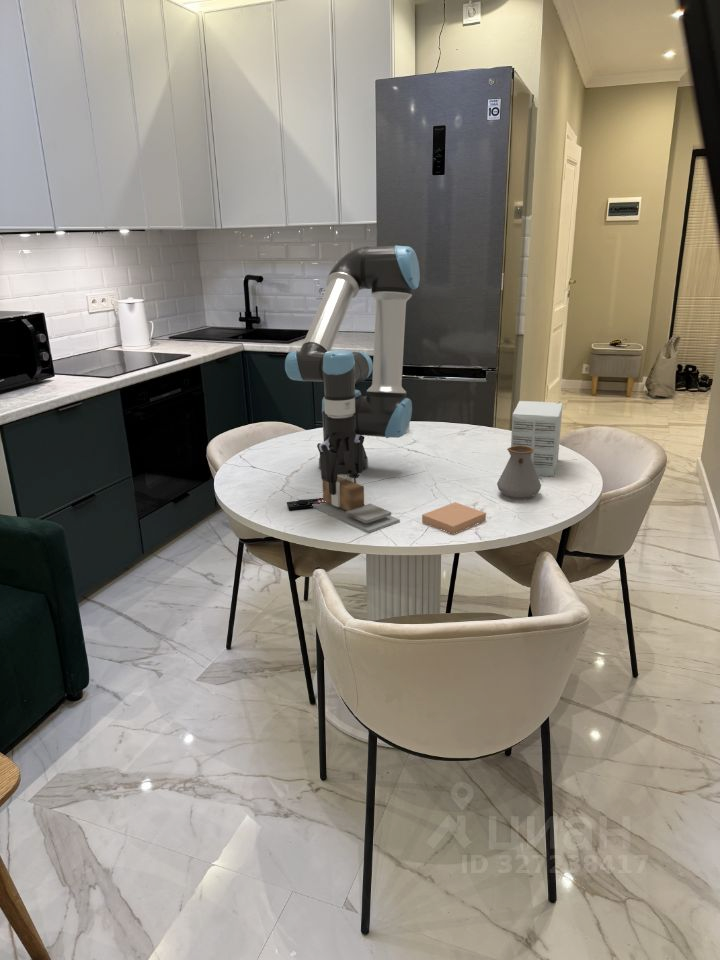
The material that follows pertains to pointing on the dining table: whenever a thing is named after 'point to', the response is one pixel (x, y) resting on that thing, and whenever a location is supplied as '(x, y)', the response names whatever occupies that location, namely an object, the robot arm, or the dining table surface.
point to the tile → (453, 517)
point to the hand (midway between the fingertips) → (343, 502)
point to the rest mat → (341, 515)
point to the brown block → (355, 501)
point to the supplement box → (538, 433)
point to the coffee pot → (519, 475)
